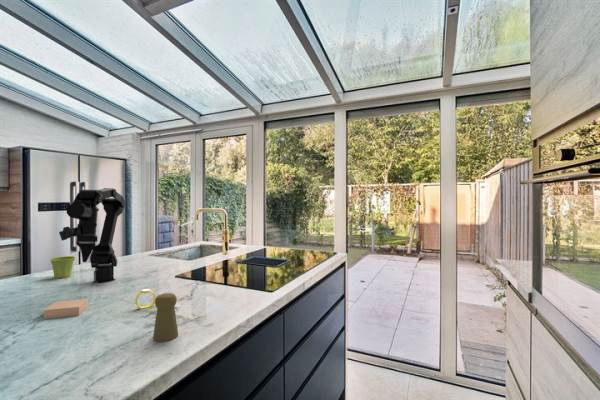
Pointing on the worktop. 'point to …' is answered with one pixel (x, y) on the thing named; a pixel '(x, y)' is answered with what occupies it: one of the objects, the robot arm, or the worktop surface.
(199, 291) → the worktop surface
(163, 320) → the cork
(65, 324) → the worktop surface
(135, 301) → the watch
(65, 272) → the plant pot
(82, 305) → the tile
